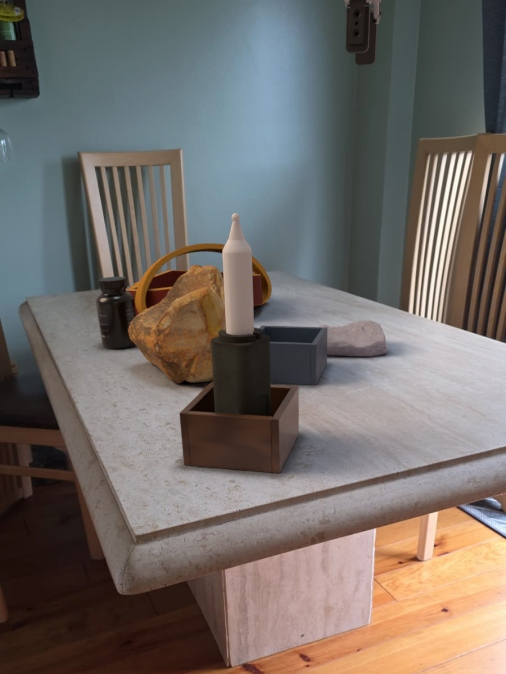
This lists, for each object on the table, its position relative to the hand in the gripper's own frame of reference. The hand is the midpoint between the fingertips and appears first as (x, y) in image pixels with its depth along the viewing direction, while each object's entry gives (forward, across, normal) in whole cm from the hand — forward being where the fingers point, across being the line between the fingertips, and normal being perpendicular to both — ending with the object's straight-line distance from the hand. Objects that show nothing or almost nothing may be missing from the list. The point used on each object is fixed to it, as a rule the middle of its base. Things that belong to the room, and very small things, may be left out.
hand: (361, 59), depth 66 cm
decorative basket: (+39, +54, +38) cm, 77 cm away
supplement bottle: (+39, +25, +45) cm, 65 cm away
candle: (+39, -16, +10) cm, 44 cm away
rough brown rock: (+39, +13, +28) cm, 50 cm away
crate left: (+39, -16, +10) cm, 43 cm away
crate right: (+39, +13, +11) cm, 43 cm away
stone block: (+39, +27, +3) cm, 48 cm away
